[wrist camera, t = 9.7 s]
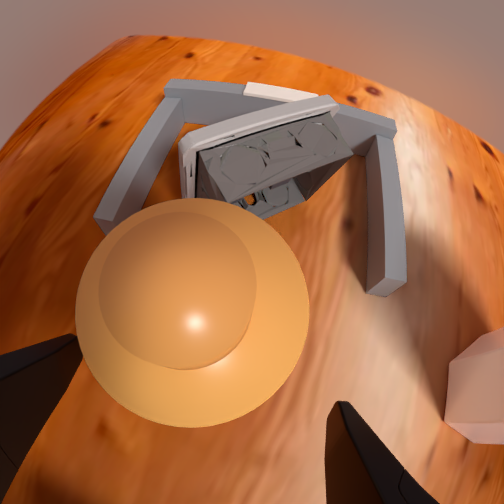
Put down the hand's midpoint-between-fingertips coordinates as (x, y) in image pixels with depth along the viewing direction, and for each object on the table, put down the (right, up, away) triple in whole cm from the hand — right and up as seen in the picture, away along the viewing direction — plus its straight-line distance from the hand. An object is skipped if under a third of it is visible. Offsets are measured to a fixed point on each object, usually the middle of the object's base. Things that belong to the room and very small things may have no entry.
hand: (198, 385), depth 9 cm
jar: (+19, -7, +7) cm, 22 cm away
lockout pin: (0, -2, +8) cm, 8 cm away
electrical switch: (+2, +7, +13) cm, 15 cm away
